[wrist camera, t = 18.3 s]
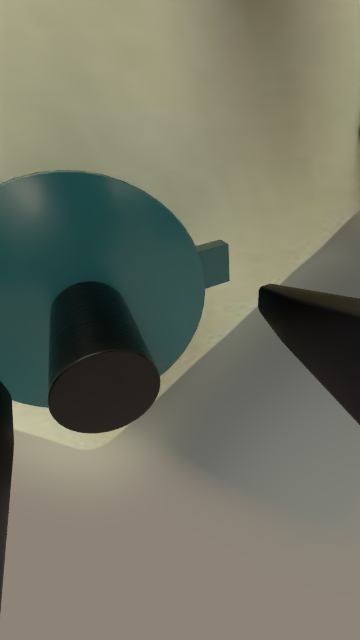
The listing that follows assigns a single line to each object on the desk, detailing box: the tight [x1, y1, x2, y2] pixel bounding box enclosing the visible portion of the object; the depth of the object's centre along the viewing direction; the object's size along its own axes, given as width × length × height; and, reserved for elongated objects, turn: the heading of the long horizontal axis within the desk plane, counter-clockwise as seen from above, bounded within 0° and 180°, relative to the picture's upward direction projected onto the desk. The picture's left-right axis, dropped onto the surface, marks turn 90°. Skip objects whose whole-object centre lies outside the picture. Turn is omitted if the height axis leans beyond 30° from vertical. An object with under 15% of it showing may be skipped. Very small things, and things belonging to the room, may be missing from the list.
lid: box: [0, 170, 205, 433], centre depth 12 cm, size 12×12×7 cm
